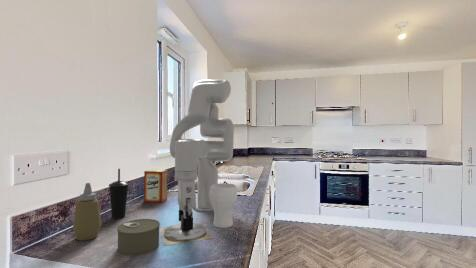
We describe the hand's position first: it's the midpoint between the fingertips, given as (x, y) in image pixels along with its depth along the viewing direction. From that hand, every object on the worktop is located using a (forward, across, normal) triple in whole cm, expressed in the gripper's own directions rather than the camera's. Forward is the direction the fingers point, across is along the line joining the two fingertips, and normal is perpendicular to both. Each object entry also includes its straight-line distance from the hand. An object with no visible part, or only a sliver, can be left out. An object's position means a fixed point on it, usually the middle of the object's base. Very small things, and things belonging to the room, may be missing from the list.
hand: (185, 225), depth 88 cm
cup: (+3, +4, -15) cm, 16 cm away
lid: (+3, 0, 0) cm, 3 cm away
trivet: (+3, 0, 0) cm, 3 cm away
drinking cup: (+3, +28, +23) cm, 36 cm away
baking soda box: (+3, +50, +7) cm, 51 cm away
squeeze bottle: (+3, +8, +31) cm, 32 cm away
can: (+3, -6, +15) cm, 17 cm away
